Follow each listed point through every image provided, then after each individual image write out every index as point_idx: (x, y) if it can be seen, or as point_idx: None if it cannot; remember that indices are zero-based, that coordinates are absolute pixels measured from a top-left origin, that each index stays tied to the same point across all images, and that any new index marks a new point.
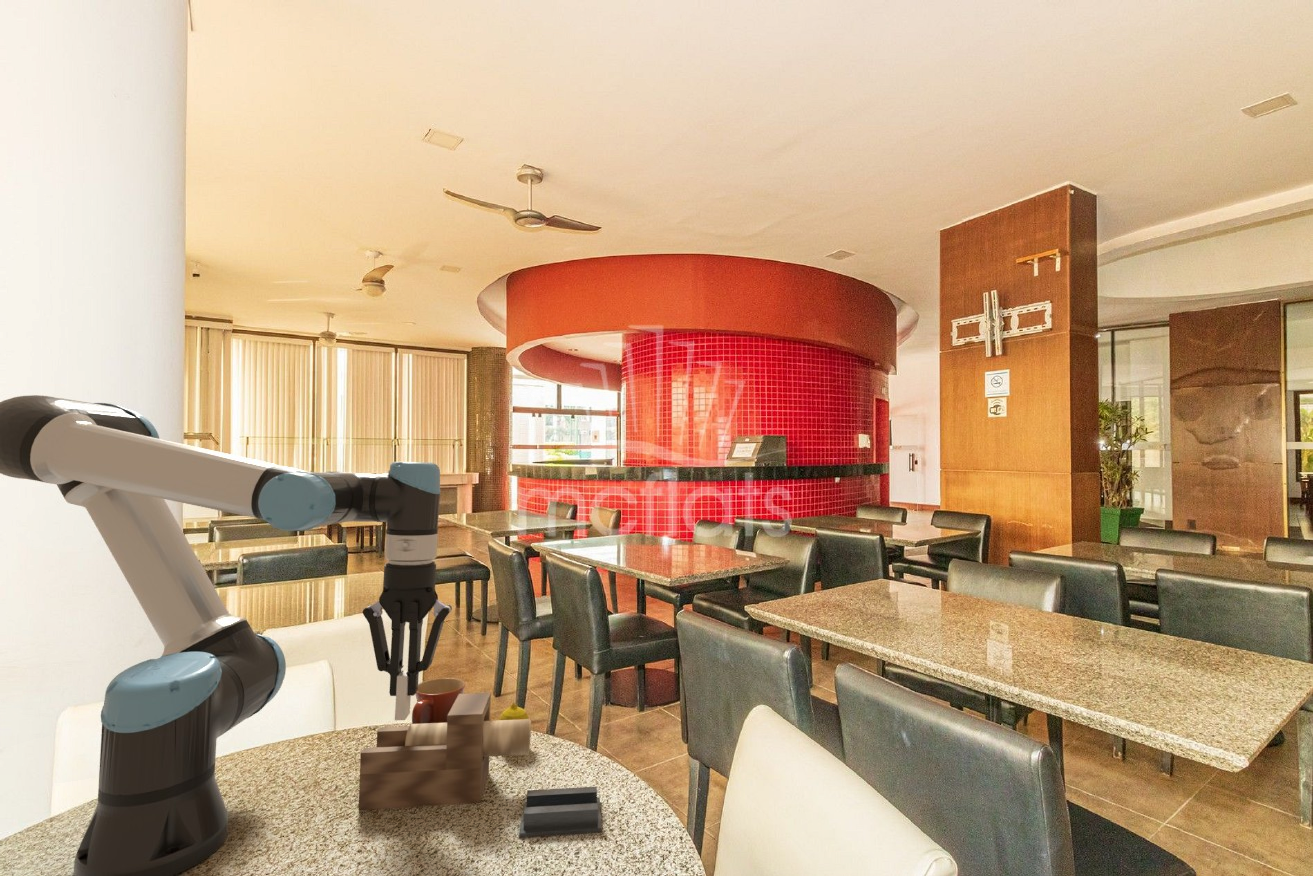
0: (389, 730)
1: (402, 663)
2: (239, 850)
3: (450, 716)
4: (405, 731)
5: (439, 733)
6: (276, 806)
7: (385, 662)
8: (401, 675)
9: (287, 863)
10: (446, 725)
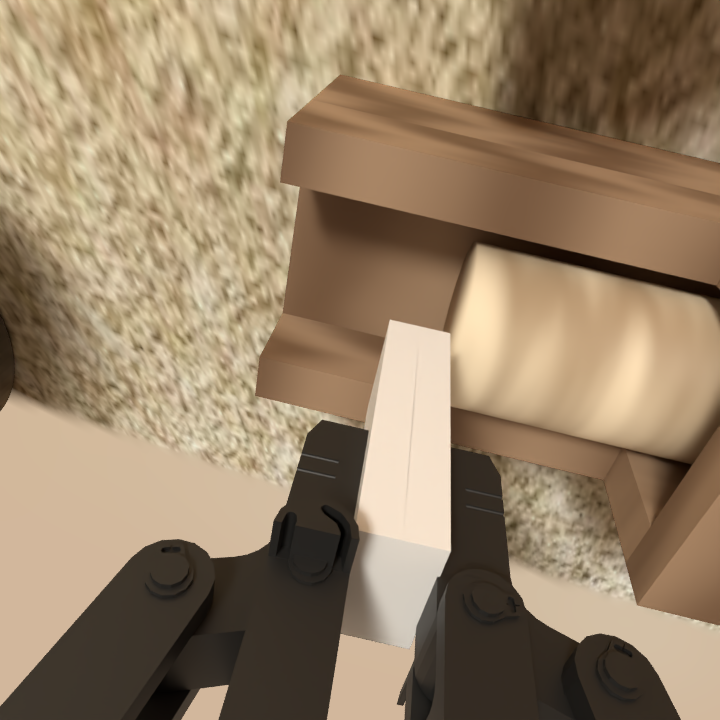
0: (345, 191)
1: (344, 607)
2: (66, 372)
3: (651, 604)
4: (434, 217)
5: (594, 439)
6: (38, 172)
7: (181, 711)
8: (360, 626)
9: (198, 453)
10: (642, 430)
